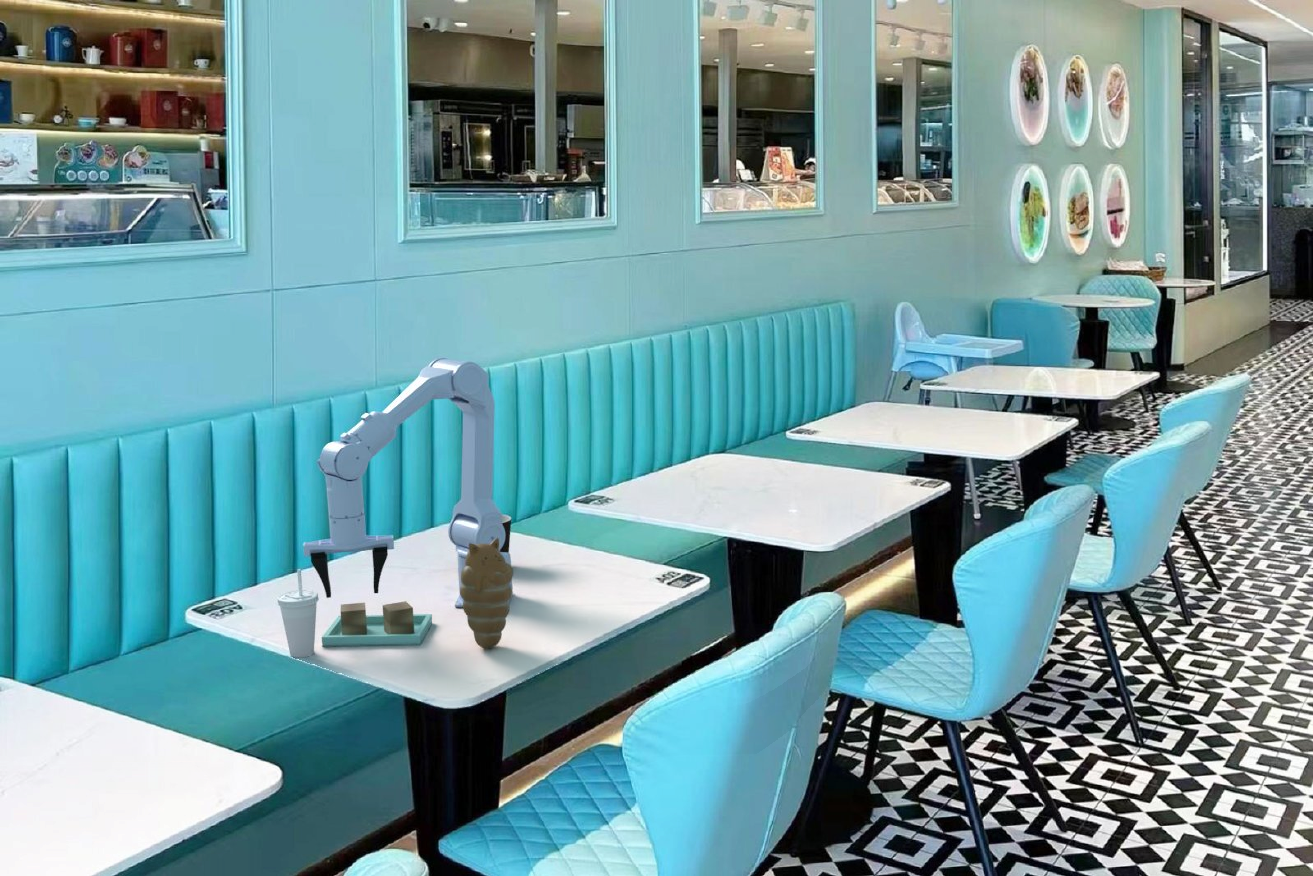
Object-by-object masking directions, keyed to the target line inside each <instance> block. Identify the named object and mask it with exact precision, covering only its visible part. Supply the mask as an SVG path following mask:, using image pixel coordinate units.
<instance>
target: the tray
mask: <svg viewBox="0 0 1313 876" xmlns="http://www.w3.org/2000/svg"><path fill="white" fill-rule="evenodd" d="M413 619H414V634H389V635H388V634H387V633H386V632H385V631H384V620H383V614H370V615H369V614H368V615H367V614H366V624H367V635H342V626H341V615H337V617H336V618H335V619H334V620H333V622H332V623H331V624H330V626H329V628H328V629H326V631H325V632H324V633H323V635H322V636H321V645H322V647H323V648H324V647H330V648H331V647H376V645H377V646H378V647H379V646H381V647H382V646H383V647H384V646H385V647H386V646H421V644H422V643H423V641H424V639H425V637H426V635H427V633H428V632H429V630H430V628H431V626H432V624H433V614H432V613H426V614H423V613H420V614H417V613H416V614H414V613H413Z"/></svg>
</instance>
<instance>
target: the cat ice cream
mask: <svg viewBox="0 0 1313 876" xmlns="http://www.w3.org/2000/svg"><path fill="white" fill-rule="evenodd" d="M513 577H514V569H513V567H512V564H511V565H510V564H508V563H506V562H505V559H504V557H503V556H502V554H501V553H500V552H499V539H498V538H496V539H495V540H494V541H492V542H491V543H490V544H485V543H483V544H477V545H475V544H471V543H469V552H468V553H467V556H466V560H465V567H464V568H463V570H462V572H461V582H462V585H461V587H460V594H459V595H461V597H462V598H463V600H464V601H463V607H462V610H463V611H464V613H465V615H466V617H467V619H466V620H467V625H468V627H469V629H470V630H471V631H472V632H473V637H474V640H475V642H476V644H477V645H478V646H479V647H480V648H482V649H492V648H494V647H496V646H497V645H499V643H500V641H501V639H502V635H503V634H502V633H503V631H504V629H505V628H506V625H507V617H508V615H509V613H510V611H511V609H510V603H509V604H508V600H509V599H510V597H511V598H512V596H513V594H512V591H513V590H512V588H511V586H510V582H511V580H513ZM511 595H512V596H511ZM510 600H511V599H510Z"/></svg>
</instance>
